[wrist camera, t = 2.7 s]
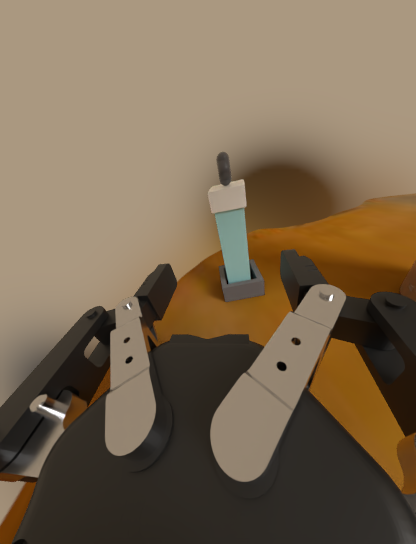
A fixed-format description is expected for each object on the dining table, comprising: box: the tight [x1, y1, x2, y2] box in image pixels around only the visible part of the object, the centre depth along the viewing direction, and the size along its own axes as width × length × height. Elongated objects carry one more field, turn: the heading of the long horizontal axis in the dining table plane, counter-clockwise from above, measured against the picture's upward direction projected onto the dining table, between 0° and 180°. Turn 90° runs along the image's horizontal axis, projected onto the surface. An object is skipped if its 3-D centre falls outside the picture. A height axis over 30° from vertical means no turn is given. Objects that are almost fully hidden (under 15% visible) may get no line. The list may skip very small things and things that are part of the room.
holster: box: [219, 259, 265, 302], centre depth 28 cm, size 6×6×3 cm
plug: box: [208, 152, 251, 284], centre depth 24 cm, size 4×4×20 cm
